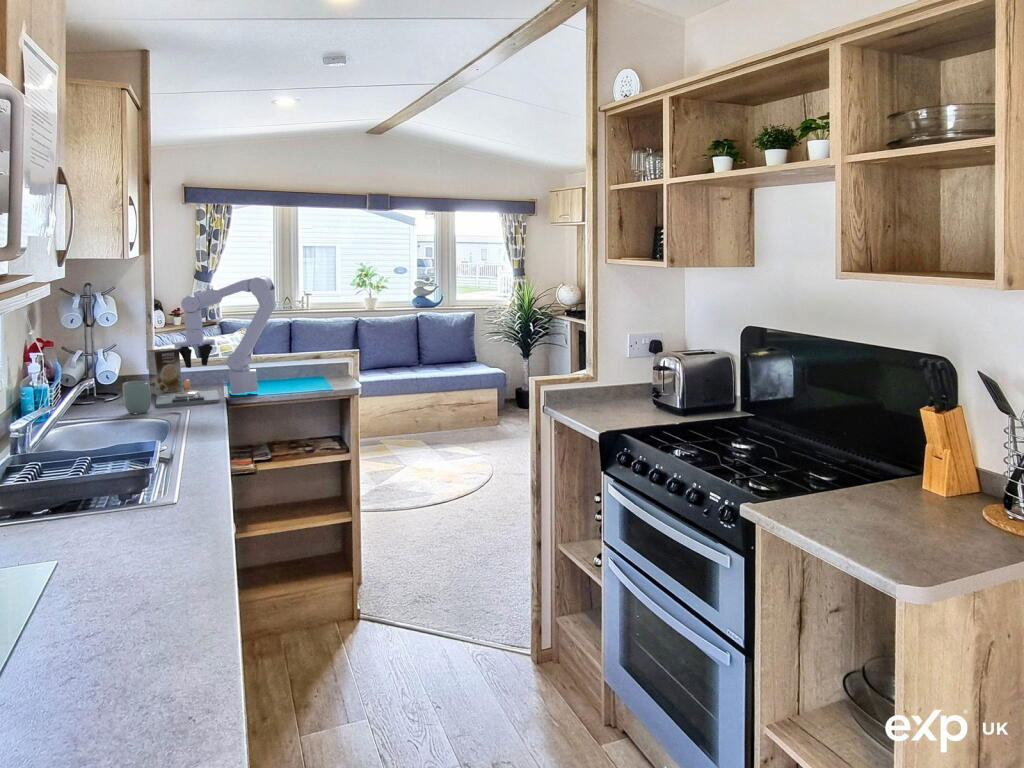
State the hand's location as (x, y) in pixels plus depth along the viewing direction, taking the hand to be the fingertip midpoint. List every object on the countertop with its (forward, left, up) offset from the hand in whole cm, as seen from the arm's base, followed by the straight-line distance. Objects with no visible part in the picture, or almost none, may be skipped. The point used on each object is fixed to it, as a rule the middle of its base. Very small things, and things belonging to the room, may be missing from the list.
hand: (196, 366), depth 267 cm
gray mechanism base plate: (+4, +9, -10) cm, 14 cm away
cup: (+19, +24, -11) cm, 32 cm away
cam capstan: (+4, +7, -9) cm, 12 cm away
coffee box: (+11, -9, -11) cm, 18 cm away
